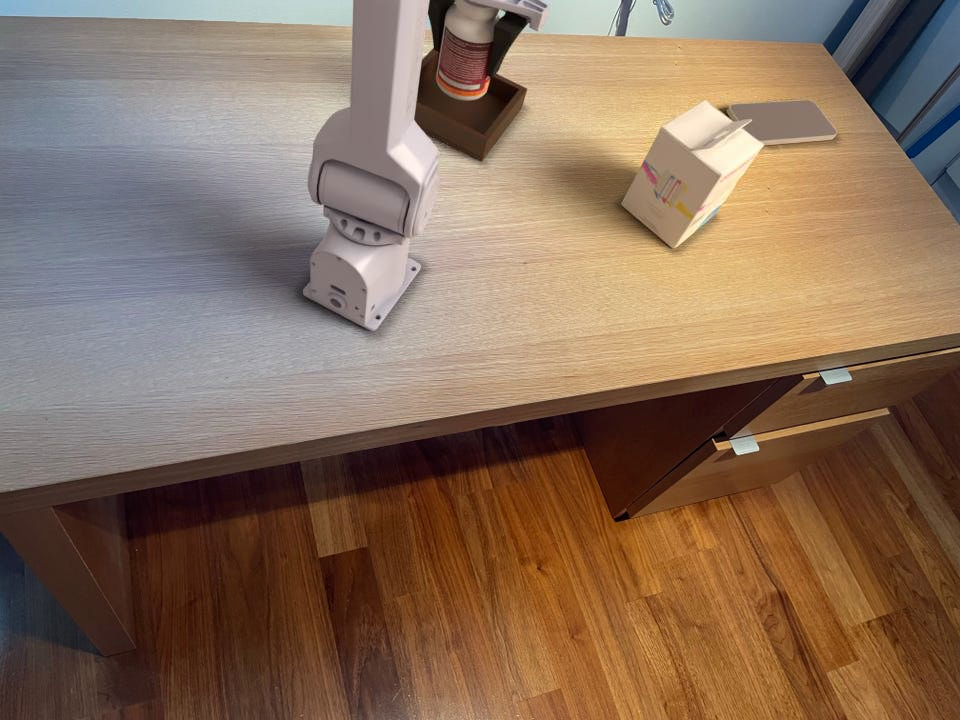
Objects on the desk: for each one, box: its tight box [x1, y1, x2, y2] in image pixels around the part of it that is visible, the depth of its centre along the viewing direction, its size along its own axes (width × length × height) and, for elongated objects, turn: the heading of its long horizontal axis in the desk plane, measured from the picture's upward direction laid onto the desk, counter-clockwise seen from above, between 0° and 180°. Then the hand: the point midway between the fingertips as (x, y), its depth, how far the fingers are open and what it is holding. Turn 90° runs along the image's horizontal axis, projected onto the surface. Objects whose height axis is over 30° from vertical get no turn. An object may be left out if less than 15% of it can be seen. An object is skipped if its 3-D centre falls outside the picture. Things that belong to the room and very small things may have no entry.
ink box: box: [620, 99, 765, 249], centre depth 75 cm, size 9×8×13 cm
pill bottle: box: [436, 0, 501, 101], centre depth 75 cm, size 6×6×11 cm
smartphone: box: [726, 99, 838, 146], centre depth 93 cm, size 7×1×15 cm
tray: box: [414, 47, 528, 162], centre depth 81 cm, size 12×13×3 cm
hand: (466, 59), depth 76 cm, fingers closed on pill bottle, 6 cm apart
